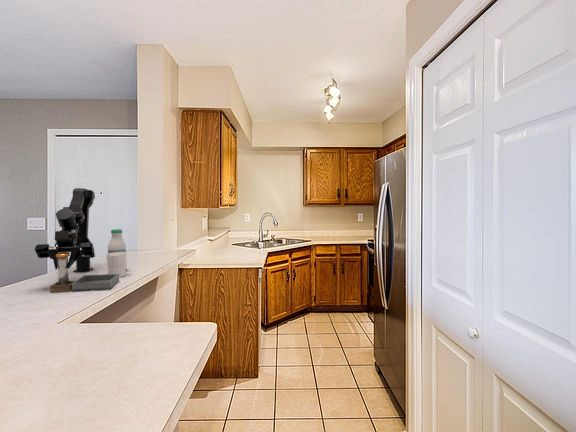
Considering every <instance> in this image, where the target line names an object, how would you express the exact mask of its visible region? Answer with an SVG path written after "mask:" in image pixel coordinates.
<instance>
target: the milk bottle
mask: <svg viewBox="0 0 576 432" xmlns="http://www.w3.org/2000/svg"><path fill="white" fill-rule="evenodd" d="M110 235H111V238H110V241H109V242H108V245H107V254H109V253H116V252H124V253H126V254H127V247H126V246H127V245H126V242H125V240H124V238H123V236H122V235H123V229H122V228H115V229H114V228H113V229H111V230H110ZM127 269H128V268H127V264H126V271H127Z"/></svg>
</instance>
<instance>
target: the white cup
mask: <svg viewBox="0 0 576 432" xmlns="http://www.w3.org/2000/svg"><path fill="white" fill-rule="evenodd" d="M106 265H107V272H108V274H119V278H122V277H125V276H126V274H127V273H126V271H127V270H126V265H127V252H126V253H124V252H116V253H109V254H108V253H107V254H106Z"/></svg>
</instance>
